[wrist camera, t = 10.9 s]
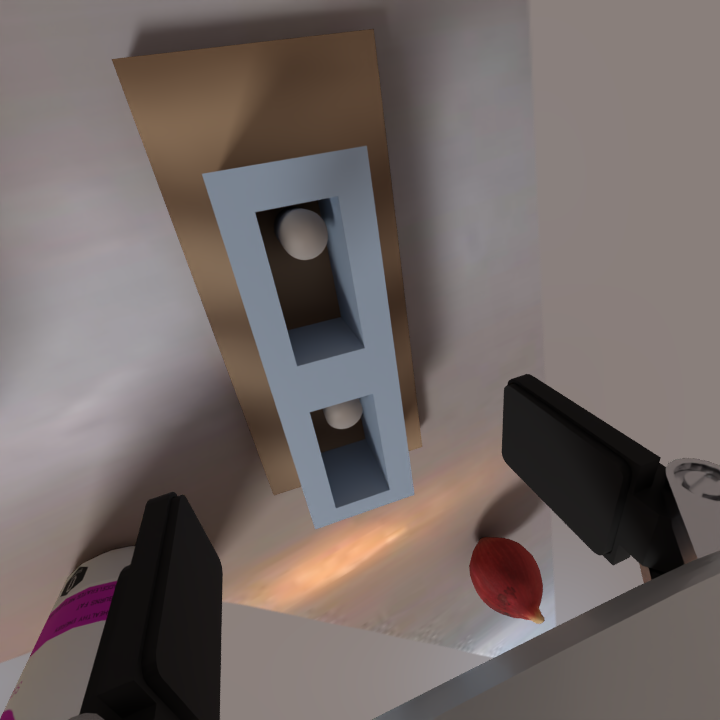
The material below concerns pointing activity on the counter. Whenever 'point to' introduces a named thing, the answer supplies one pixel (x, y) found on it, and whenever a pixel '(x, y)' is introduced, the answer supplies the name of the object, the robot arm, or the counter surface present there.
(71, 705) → the supplement can
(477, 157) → the counter surface
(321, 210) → the two-pocket blue tray
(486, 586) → the onion
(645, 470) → the robot arm
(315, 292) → the walnut board
